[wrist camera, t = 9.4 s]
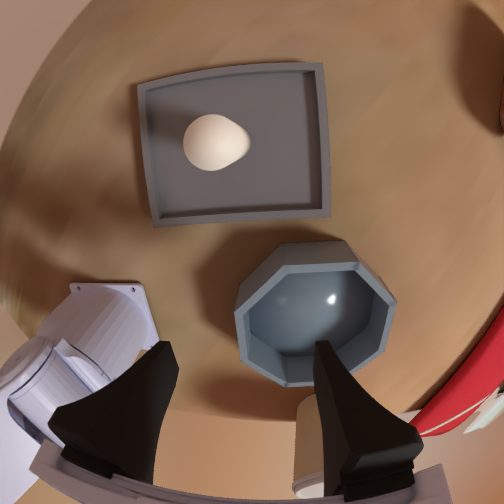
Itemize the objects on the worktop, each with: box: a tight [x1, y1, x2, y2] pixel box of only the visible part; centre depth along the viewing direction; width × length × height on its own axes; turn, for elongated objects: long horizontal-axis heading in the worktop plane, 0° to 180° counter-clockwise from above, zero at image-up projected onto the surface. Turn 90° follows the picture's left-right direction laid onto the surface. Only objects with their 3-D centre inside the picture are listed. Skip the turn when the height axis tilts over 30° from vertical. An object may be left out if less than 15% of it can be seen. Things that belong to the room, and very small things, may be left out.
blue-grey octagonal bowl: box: [234, 240, 397, 387], centre depth 22 cm, size 12×12×4 cm
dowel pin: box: [183, 114, 251, 171], centre depth 14 cm, size 2×2×8 cm
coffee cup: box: [292, 394, 324, 499], centre depth 24 cm, size 9×9×12 cm
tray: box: [137, 62, 331, 227], centre depth 18 cm, size 13×11×2 cm
